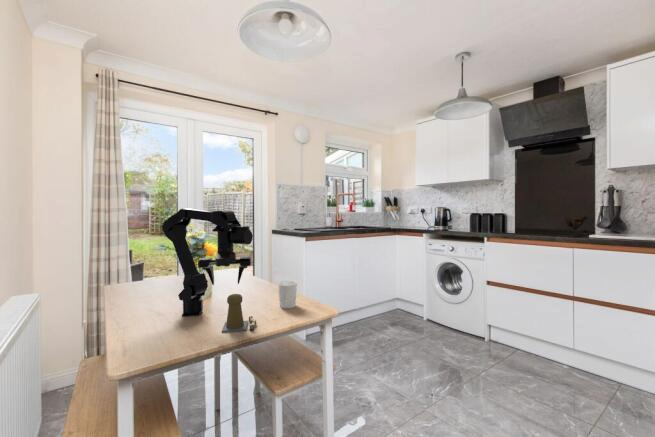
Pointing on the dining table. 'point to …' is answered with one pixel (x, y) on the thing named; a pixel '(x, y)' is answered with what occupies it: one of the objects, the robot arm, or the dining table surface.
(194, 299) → the robot arm
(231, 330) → the slate pad
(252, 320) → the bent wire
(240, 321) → the olive pawn
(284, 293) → the white cup
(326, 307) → the dining table surface
